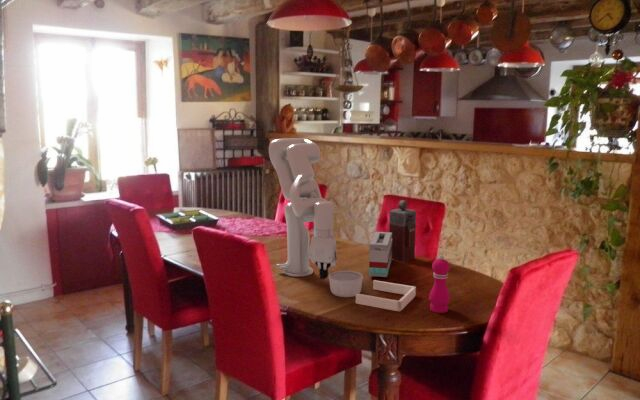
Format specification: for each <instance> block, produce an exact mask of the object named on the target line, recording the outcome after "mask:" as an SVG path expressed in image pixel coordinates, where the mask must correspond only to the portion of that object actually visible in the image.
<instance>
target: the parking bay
mask: <svg viewBox="0 0 640 400" xmlns="http://www.w3.org/2000/svg"><path fill="white" fill-rule="evenodd" d="M372 284H373V287H372V289H373V290H376V291H381V292H387V293H393V294H398V295H403V296H402V297H401V298H400V299H399V300H397V299H390V298H385V297H378V296H373V295H369V294H368V295H367V294H362V293H359V294H358V293H357V294H356V296H355V304H358V305H363V306H367V307H368V306H369V307H373V308H379V309H384V310H389V311H395V312H399V313H400V312H401V311H402V310H404V308H405V307H407V305H408V304H409V303H410V302H412V301H413V300H414V298H415V297H416V295H417V286H415V285H407V284H402V283H401V284H400V283H394V282H388V281H382V280H381V281H380V280H376V279H374V280H373V281H372Z"/></svg>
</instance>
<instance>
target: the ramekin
mask: <svg viewBox="0 0 640 400" xmlns="http://www.w3.org/2000/svg"><path fill="white" fill-rule="evenodd" d="M363 279H364V275H363V274H362V273H360V272H358V271H353V270H337V271H333V272H330V273H328V281H329V288H330V292H331V293H332V295H333V296H336V297H341V298H352V297H356V294H357V293H358V294H361V291H362V285H363Z"/></svg>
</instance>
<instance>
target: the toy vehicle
mask: <svg viewBox="0 0 640 400" xmlns="http://www.w3.org/2000/svg"><path fill="white" fill-rule="evenodd" d="M368 252H369V254H368V256H369V258H368V260H369V261H368V262H369V264H368V277H378V278H380V277H381V278H388V276H389V272H390V271H389V270H390V267H391V265H392V261H393V260H392V259H391V258H392V233H391V232H389V231H387V232H385V231H374V233H373V235H372V238H371V239H370V242H369V250H368Z"/></svg>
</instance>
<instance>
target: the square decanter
mask: <svg viewBox="0 0 640 400" xmlns="http://www.w3.org/2000/svg"><path fill="white" fill-rule="evenodd" d="M388 221H389V222H388V223H389V224H388V225H389V226H388V227H389V228H388V229H389V230H388V232H391V233H392V258H391V260H392V259H393V260H392V261H396V260H397V261H396V262H401V263H406V262H409V261H412V260H415V259H414V258H415V256H416V227H417V225H416V224H417V223H416V222H417V211H416V210H415V209H409V208H408V201H407V200H403V199H401V200H399V202H398V208H395V209H391V210H389V219H388ZM411 259H412V260H411Z"/></svg>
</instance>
